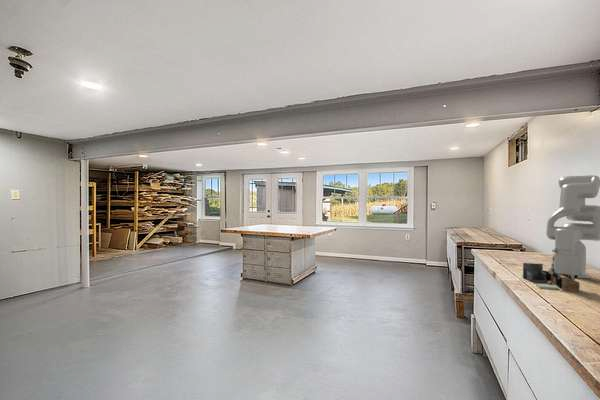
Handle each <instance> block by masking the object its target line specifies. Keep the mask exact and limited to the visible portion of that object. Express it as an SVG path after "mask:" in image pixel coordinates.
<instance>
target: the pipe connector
mask: <svg viewBox="0 0 600 400" xmlns="http://www.w3.org/2000/svg"><path fill="white" fill-rule="evenodd" d="M548 271H549V270H544V269H543V272H544V273H546V281H551V274H550V273H548ZM553 273H554V274H555V273H556V272H553ZM561 275H563V276H565V277H568V278H569V276H568V275H566V274H561Z"/></svg>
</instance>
